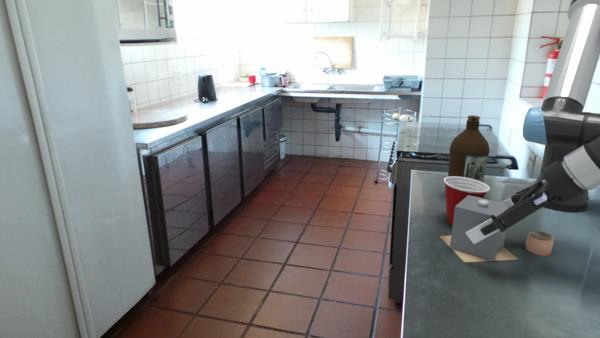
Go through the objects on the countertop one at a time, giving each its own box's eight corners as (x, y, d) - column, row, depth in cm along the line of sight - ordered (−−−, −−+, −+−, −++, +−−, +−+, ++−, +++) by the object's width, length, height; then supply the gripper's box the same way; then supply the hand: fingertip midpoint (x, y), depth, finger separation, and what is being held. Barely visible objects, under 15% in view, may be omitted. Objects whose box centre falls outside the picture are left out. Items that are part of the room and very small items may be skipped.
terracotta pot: (540, 248, 94) (544, 230, 92) (555, 259, 89) (559, 240, 88) (519, 249, 93) (523, 231, 92) (534, 260, 88) (538, 241, 87)
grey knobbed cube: (462, 234, 98) (468, 190, 94) (503, 245, 92) (511, 200, 89) (449, 248, 91) (455, 202, 88) (492, 261, 86) (500, 212, 82)
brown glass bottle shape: (437, 193, 127) (446, 113, 120) (467, 191, 130) (478, 112, 122) (457, 206, 117) (468, 120, 110) (489, 203, 120) (503, 118, 112)
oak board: (486, 238, 98) (487, 234, 98) (517, 264, 87) (518, 259, 87) (438, 240, 97) (439, 236, 97) (463, 267, 86) (464, 262, 85)
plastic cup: (487, 238, 99) (495, 191, 95) (440, 233, 101) (446, 187, 97) (478, 219, 109) (485, 176, 105) (436, 216, 111) (441, 173, 107)
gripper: (582, 211, 66) (473, 264, 79) (594, 175, 85) (504, 223, 98) (550, 174, 68) (449, 232, 81) (569, 146, 86) (484, 197, 100)
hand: (479, 227), depth 89 cm, fingers open, 13 cm apart
